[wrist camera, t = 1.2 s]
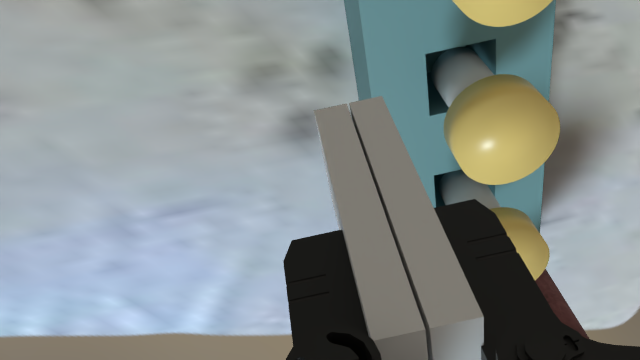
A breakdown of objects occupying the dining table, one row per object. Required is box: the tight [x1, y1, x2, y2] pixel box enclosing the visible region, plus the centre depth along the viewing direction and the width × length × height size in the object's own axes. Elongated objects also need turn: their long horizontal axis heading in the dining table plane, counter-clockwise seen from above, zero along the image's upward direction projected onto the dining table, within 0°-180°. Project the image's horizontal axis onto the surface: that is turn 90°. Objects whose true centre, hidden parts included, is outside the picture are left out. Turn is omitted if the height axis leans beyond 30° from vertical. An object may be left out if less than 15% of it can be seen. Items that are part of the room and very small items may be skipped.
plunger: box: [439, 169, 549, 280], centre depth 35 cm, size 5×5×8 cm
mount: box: [344, 0, 556, 233], centre depth 34 cm, size 10×26×6 cm, turn 10°
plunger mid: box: [431, 47, 560, 185], centre depth 30 cm, size 5×5×8 cm
